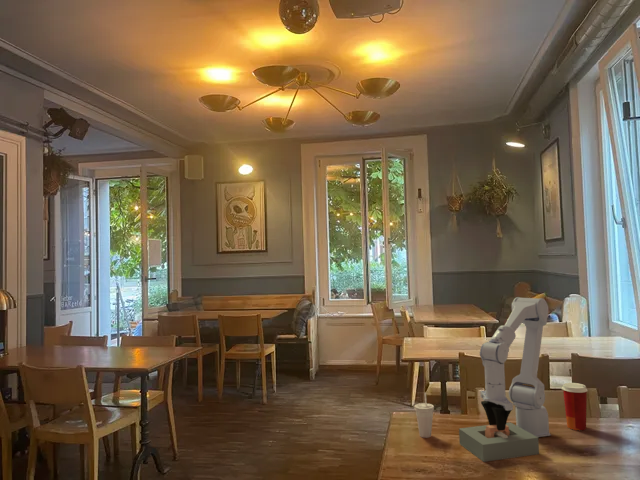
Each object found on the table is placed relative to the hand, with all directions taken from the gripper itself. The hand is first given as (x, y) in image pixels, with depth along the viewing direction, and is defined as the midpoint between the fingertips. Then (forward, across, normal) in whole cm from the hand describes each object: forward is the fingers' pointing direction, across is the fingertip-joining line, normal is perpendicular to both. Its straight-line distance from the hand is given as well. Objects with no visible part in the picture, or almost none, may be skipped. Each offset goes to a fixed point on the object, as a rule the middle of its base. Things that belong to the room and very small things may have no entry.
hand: (497, 427), depth 153 cm
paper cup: (+7, -8, +34) cm, 36 cm away
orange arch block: (+6, 0, 0) cm, 6 cm away
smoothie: (+7, -17, -16) cm, 24 cm away
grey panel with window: (+6, 0, 0) cm, 6 cm away
